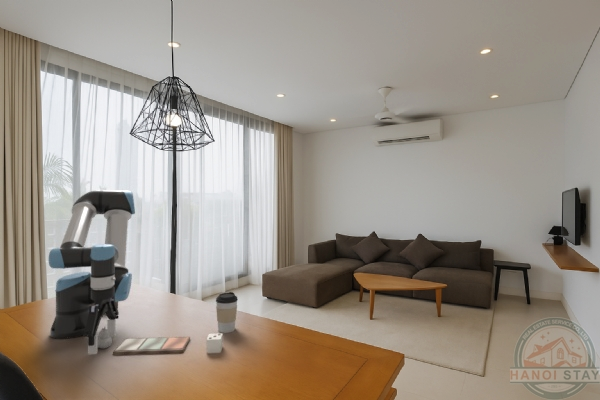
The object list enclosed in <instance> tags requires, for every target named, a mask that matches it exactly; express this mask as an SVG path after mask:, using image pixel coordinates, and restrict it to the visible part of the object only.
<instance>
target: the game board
mask: <svg viewBox="0 0 600 400" xmlns="http://www.w3.org/2000/svg"><path fill="white" fill-rule="evenodd" d="M190 340H191V336H167V337H165V336H163V337H162V336H161V337H131V338H130V337H127V338H125V339H123V341H122V342H121V343H120V344H119V345H117V347H116V348H115V349H114V350H113V351H112V355H114V356H117V355H146V354H147V355H148V354H152V355H153V354H177V353H178V354H181V353H184V351H185V349H186V347H188V346H187V345H188V344H189V342H190Z"/></svg>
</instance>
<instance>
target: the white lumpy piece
mask: <svg viewBox="0 0 600 400" xmlns="http://www.w3.org/2000/svg"><path fill="white" fill-rule="evenodd" d="M109 333H110V332H108V330H107V328H106V326H104V327H102V328H101V330H100V331H99V333H98V337H97V349H98V348H99V349H107V348H109V347H110V346H111V345H112V342H113V337H109Z"/></svg>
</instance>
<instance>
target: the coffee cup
mask: <svg viewBox="0 0 600 400" xmlns="http://www.w3.org/2000/svg"><path fill="white" fill-rule="evenodd" d="M215 302H216V303H215V304H216V307H215V309H216V320H217V321H216V322H217V331H218V332H219V333H223V334H229V333H232V332H234V331H235V330H236V320H237V310H238V296H237V295H235V292H232V291H229V292H222V293H220V294H218V295H217V296H216V297H215Z"/></svg>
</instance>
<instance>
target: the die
mask: <svg viewBox="0 0 600 400" xmlns="http://www.w3.org/2000/svg"><path fill="white" fill-rule="evenodd" d="M223 334H224V333H222V332H219V333H208V335H207V337H206V354H221V353H222V349H223V342H224V341H223V340H224V339H223V336H224V335H223Z"/></svg>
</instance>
